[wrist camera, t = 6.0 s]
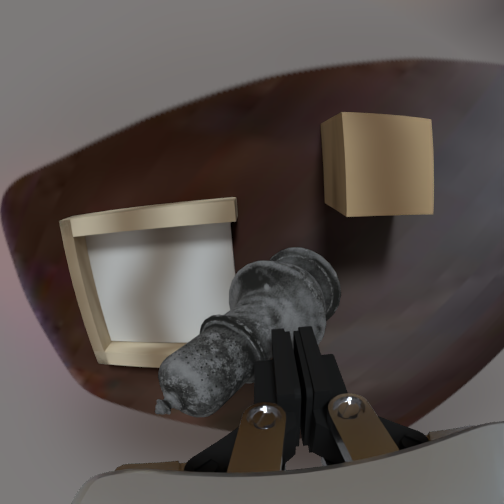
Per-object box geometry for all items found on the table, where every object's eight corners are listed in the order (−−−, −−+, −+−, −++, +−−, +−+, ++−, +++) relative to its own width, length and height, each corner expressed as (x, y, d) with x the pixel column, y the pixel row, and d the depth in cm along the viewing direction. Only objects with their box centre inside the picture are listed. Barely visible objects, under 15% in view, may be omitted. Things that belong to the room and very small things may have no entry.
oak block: (392, 126, 17) (430, 119, 12) (394, 200, 18) (433, 213, 14) (320, 124, 17) (341, 112, 12) (324, 202, 19) (346, 216, 14)
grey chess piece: (314, 344, 19) (198, 480, 10) (247, 292, 21) (105, 388, 12) (364, 281, 16) (248, 446, 7) (283, 223, 18) (105, 307, 9)
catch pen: (236, 197, 19) (234, 200, 17) (250, 352, 22) (249, 367, 20) (72, 215, 19) (59, 221, 17) (107, 351, 22) (98, 363, 21)
